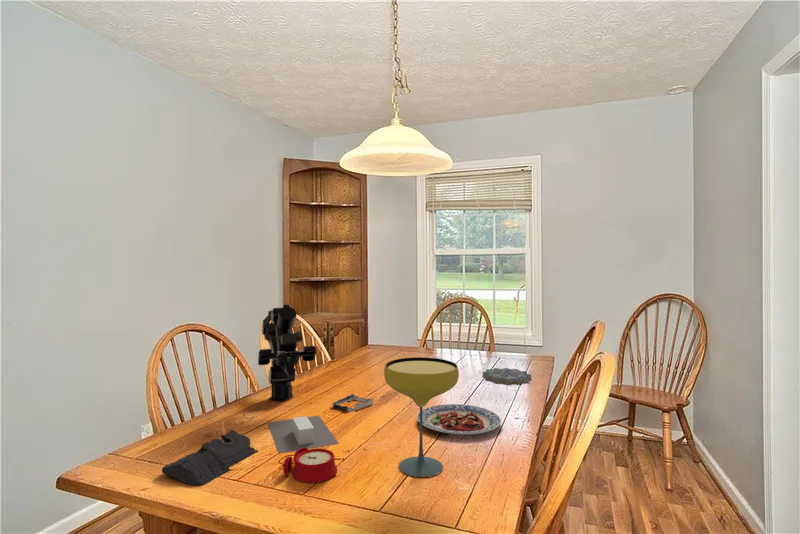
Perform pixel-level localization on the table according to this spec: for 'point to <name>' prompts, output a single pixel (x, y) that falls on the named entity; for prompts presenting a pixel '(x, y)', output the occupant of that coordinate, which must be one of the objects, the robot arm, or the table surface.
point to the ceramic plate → (459, 419)
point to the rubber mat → (288, 441)
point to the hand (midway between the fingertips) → (290, 377)
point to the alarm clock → (311, 465)
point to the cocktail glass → (421, 398)
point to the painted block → (303, 430)
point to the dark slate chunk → (211, 459)
